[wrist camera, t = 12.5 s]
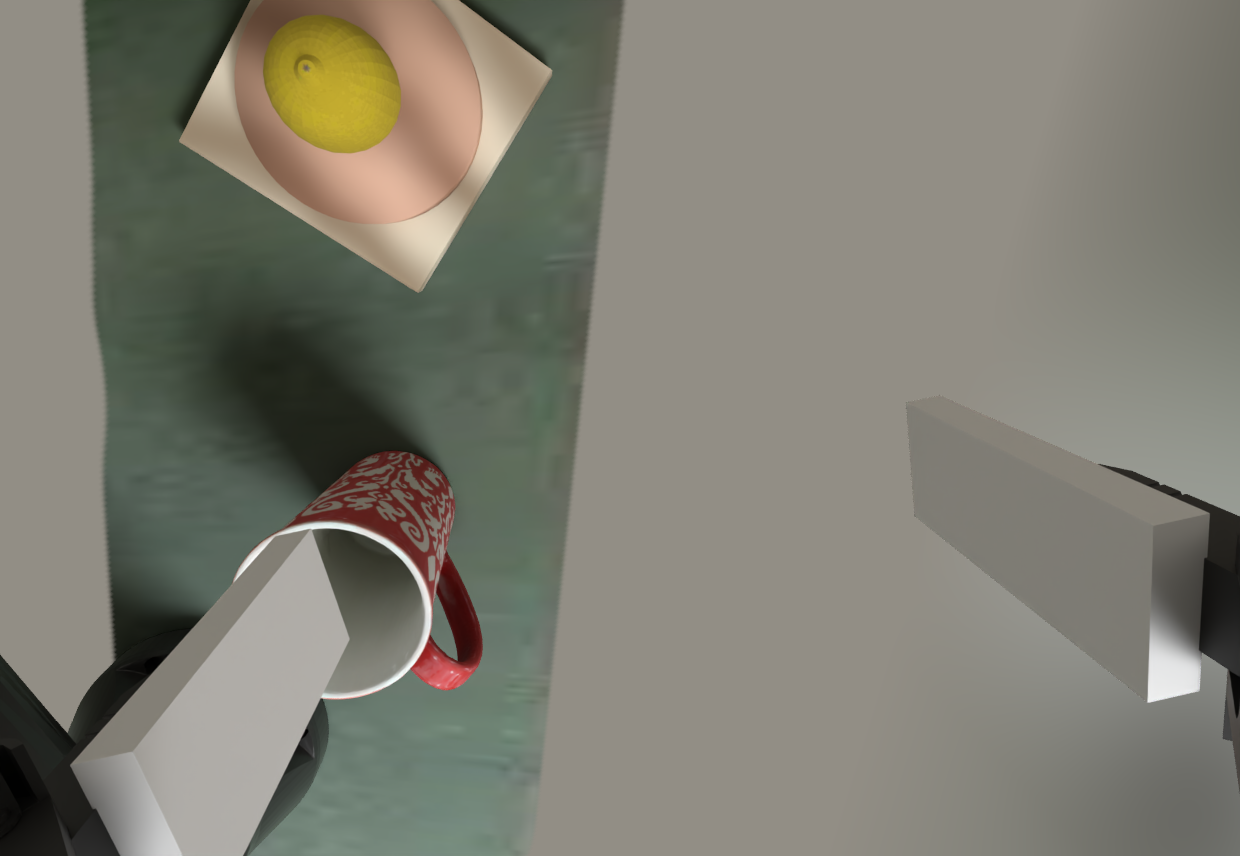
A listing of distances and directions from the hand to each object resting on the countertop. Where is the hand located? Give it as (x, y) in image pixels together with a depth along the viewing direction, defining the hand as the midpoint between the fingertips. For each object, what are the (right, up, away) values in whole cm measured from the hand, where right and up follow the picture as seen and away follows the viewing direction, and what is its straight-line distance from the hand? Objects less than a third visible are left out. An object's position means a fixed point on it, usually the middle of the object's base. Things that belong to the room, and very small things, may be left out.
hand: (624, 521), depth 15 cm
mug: (-13, -4, +30) cm, 33 cm away
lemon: (-13, +19, +20) cm, 31 cm away
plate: (-13, +19, +23) cm, 33 cm away
